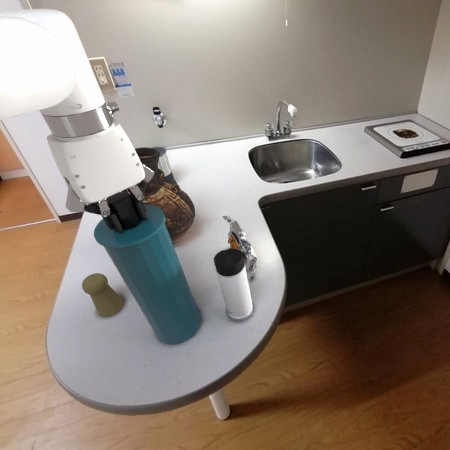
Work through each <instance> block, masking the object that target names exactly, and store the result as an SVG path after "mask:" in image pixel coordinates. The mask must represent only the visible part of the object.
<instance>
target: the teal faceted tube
mask: <svg viewBox="0 0 450 450" xmlns="http://www.w3.org/2000/svg"><path fill="white" fill-rule="evenodd" d="M103 249H104V250H105V252H106V253H107V254H108V257H109V258H110V260H111V261H112V263H113V265H114V266H115V269H116V270H117V271H118V273H119V275H120V277H121V278H122V280H123V282H124V283H125V285H126V287H127V288H128V290H129V292H130V294H131V296H132V297H133V298H134V300H135V302H136V304H137V306H138V308H139V309H140V311H141V312H142V314H143V315H144V317H145V319H146V321H147V322H148V324H149V325H150V328H151V329H152V331H153V333H154V334H155V336H156V337H157V339H158V340H159V341H160V342H161V343H163V344H166V345H178V344H182V343H184V342H186V341H188V340H190V339H191V338H192V337H193V336H194V335H195V334H196V333H197V332H198V330H199V328H200V325H201V323H202V321H201V320H202V319H201V314H200V311H199V308H198V306H197V304H196V301H195V298H194V296H193V293H192V290H191V287H190V285H189V283H188V282H189V281H188V280H187V278H186V275H185V272H184V270H183V267H182V265H181V262H180V259H179V255H177V251H176V249H175V247H174V243H172V241H171V238H170V236H169V233H168V230H167V228H166V225H165V223H164V225H163V227H162V229H161V230H160V231H159V232H158V233H157V234H156V235H154V236H153V237H152V238H150V239H149V240H147V241H145V242H143V243H140V244H138V245H135V246H131V247H126V248H116V249H115V248H107V247H104V246H103Z"/></svg>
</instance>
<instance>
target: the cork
mask: <svg viewBox="0 0 450 450" xmlns="http://www.w3.org/2000/svg"><path fill="white" fill-rule="evenodd" d="M81 289H82V290H83V292H84V293H85V294H86V295H89V296H90V299H91V300H92V303H93V305H94V307H95V309H96V312H97V314H98V315H99V316H100V317H102V318H108V317H112V316H115V315H117V314H118V313H119V312H120V311H121V310H122V309H123V308H124V305H125V302H124V301H125V300H124V299H123V298H122V297H121V295H119V294H118V293H117V292H116V291H115V290H114V288H112V286H110V284H109V280H108V277H107V276H106V275H105V274H103V273H101V272H100V273H99V272H96V273H91V274H89V275H88V276H86V277H85V278H84V279H83V280H82V282H81Z"/></svg>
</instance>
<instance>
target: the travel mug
mask: <svg viewBox="0 0 450 450" xmlns="http://www.w3.org/2000/svg"><path fill="white" fill-rule="evenodd" d="M213 265H214V267H215V272H216V275H217V276H216V277H217V280H218V282H219V286H220V289H221V294H222V297H223V300H224V304H225V307H226V308H225V309H226V311H227V315H228V317H229V318H230V319H231V320H233V321H236V322H242V321H246V320H248V318H250V316H251V315H252V314H253V311H254V306H253V300H252V295H251V289H250V284H249V279H248V274H247V267H246V266H245V263H244V258H243V254H242V252H241V251H240V250H238V249H228V248H226V249H223V250H220V251H218V252H217V253H216V254H215V255H214V257H213Z"/></svg>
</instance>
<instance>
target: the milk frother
mask: <svg viewBox="0 0 450 450" xmlns="http://www.w3.org/2000/svg"><path fill="white" fill-rule="evenodd" d="M151 148H152V149H156V150H158V151H159V152H160V157H159V162H158V168H159V169H160V170H162V171H163V172H164V174H165V178H164V179H163V181H162V182H165V183H168V184H178V183H177V182H176V180H175V176H174V174H173V170H172V167H171V163H170V161H169V157H168V154H167V148H166V147H162V146H153V147H151Z"/></svg>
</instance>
